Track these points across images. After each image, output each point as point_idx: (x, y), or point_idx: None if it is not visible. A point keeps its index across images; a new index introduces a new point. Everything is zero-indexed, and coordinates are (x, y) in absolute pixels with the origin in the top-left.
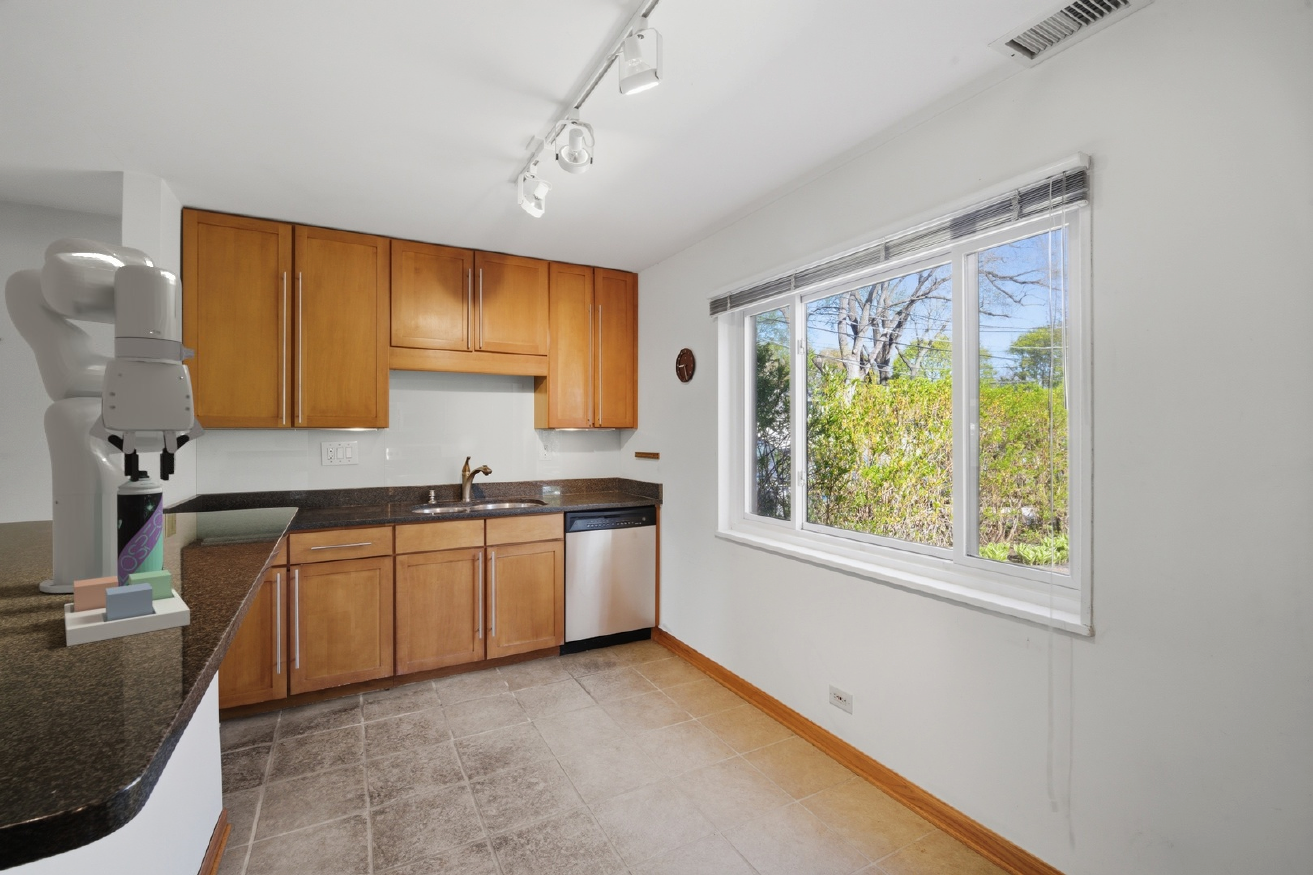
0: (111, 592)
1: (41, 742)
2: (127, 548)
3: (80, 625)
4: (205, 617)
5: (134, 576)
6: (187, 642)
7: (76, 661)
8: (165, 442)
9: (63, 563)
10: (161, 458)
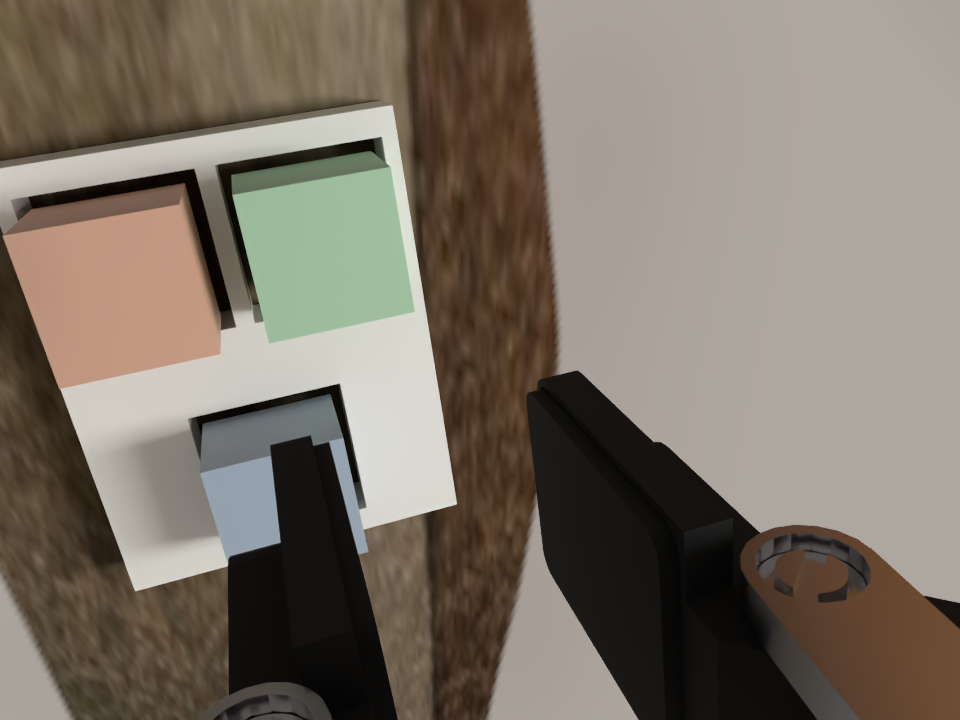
0: (238, 551)
1: None
2: None
3: (162, 555)
4: (485, 416)
5: (267, 266)
6: (441, 642)
7: (207, 693)
8: (825, 709)
9: None
10: (633, 627)
